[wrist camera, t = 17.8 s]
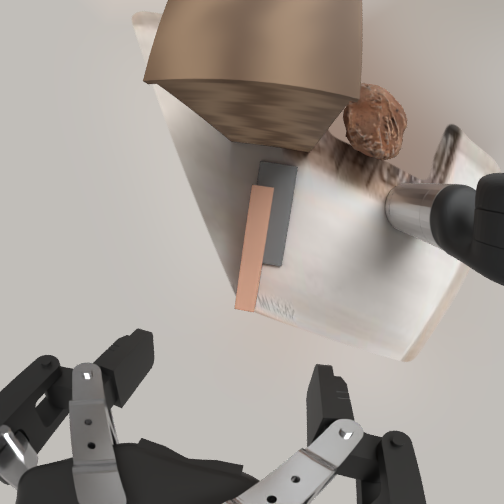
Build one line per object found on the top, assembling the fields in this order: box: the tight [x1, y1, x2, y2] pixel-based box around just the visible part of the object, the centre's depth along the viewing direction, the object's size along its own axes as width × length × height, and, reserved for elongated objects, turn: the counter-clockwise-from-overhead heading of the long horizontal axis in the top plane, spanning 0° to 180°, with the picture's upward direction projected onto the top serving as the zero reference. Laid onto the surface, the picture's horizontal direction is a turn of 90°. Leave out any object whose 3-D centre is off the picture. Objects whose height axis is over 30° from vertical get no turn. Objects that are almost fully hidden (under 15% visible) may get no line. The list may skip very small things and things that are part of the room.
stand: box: [143, 0, 362, 152], centre depth 29 cm, size 15×15×32 cm
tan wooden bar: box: [235, 185, 274, 312], centre depth 49 cm, size 4×22×4 cm, turn 172°
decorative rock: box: [343, 83, 407, 161], centre depth 39 cm, size 13×11×10 cm
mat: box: [257, 161, 298, 266], centre depth 49 cm, size 6×18×1 cm, turn 172°
